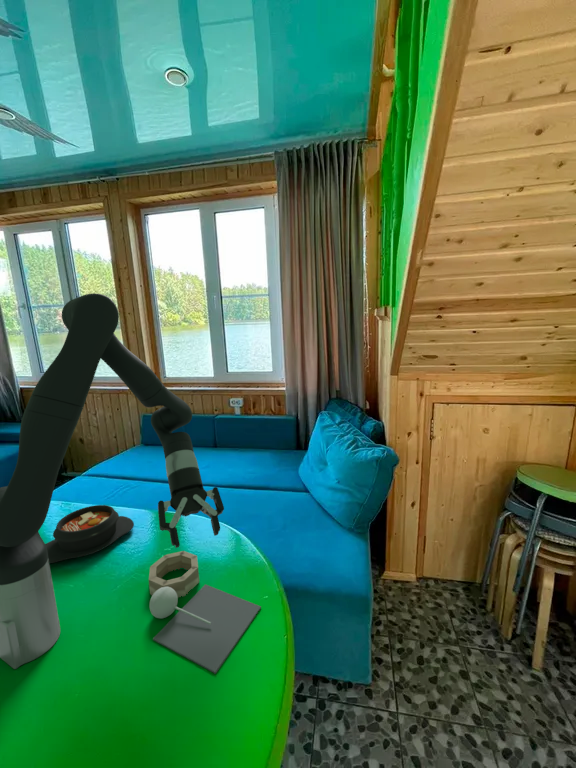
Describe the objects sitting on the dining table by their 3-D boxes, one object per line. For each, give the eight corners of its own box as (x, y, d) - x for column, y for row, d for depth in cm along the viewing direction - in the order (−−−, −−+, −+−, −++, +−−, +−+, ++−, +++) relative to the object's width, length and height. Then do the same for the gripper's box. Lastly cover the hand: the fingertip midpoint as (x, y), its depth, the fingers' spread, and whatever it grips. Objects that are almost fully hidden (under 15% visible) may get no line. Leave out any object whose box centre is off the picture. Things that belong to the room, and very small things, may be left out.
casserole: (44, 581, 85) (39, 551, 84) (34, 548, 99) (30, 522, 97) (143, 537, 102) (140, 512, 101) (123, 514, 116) (120, 492, 114)
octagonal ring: (175, 606, 76) (173, 590, 75) (140, 590, 81) (138, 575, 80) (208, 573, 86) (207, 559, 85) (175, 560, 91) (174, 547, 91)
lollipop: (204, 646, 69) (146, 618, 74) (219, 617, 74) (164, 592, 78) (200, 630, 66) (140, 602, 71) (216, 601, 71) (159, 576, 76)
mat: (215, 673, 61) (215, 672, 60) (153, 640, 68) (153, 638, 68) (261, 608, 75) (260, 606, 75) (205, 585, 82) (205, 584, 82)
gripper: (152, 473, 76) (164, 546, 67) (214, 460, 82) (231, 525, 74) (152, 485, 81) (163, 555, 73) (209, 472, 88) (225, 535, 79)
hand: (197, 540), depth 73 cm, fingers open, 8 cm apart
